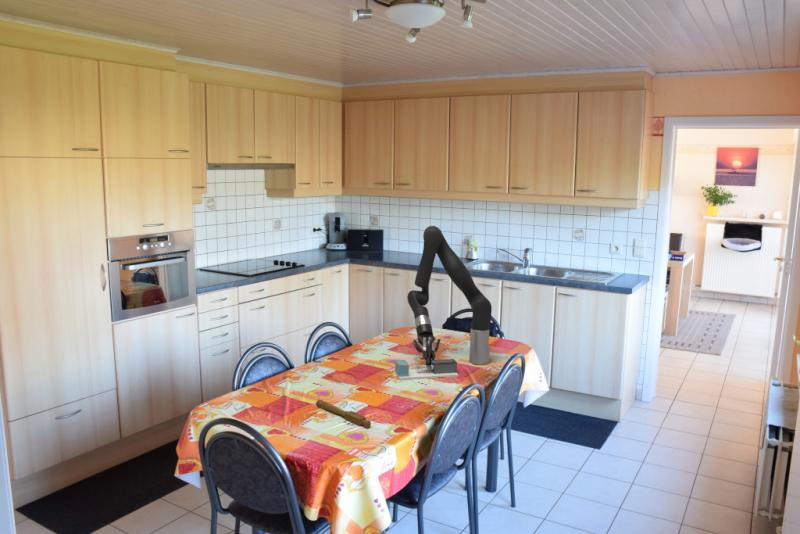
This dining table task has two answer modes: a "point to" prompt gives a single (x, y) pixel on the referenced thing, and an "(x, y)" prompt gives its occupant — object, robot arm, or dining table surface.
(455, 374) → the base board
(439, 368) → the outer sleeve
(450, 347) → the dining table surface
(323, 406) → the brown wooden stick
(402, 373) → the socket block
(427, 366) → the slip tube
